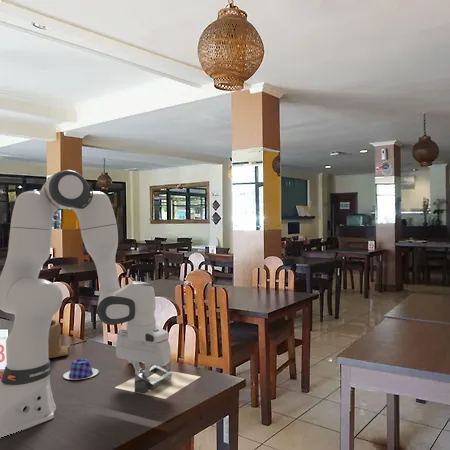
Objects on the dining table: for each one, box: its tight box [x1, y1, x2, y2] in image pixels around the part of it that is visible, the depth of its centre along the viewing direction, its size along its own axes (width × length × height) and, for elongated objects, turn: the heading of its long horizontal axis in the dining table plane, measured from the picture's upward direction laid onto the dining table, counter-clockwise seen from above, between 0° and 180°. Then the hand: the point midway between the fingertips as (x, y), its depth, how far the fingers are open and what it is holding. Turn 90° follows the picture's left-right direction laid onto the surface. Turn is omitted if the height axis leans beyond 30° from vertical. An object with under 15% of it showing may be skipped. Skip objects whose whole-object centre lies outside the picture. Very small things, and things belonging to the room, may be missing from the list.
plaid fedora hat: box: [62, 358, 100, 381], centre depth 157 cm, size 12×12×5 cm
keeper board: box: [114, 359, 201, 400], centre depth 145 cm, size 20×20×8 cm
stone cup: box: [48, 319, 71, 359], centre depth 178 cm, size 15×12×15 cm
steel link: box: [134, 365, 172, 391], centre depth 142 cm, size 10×7×2 cm
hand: (142, 375), depth 141 cm, fingers closed on steel link, 1 cm apart
